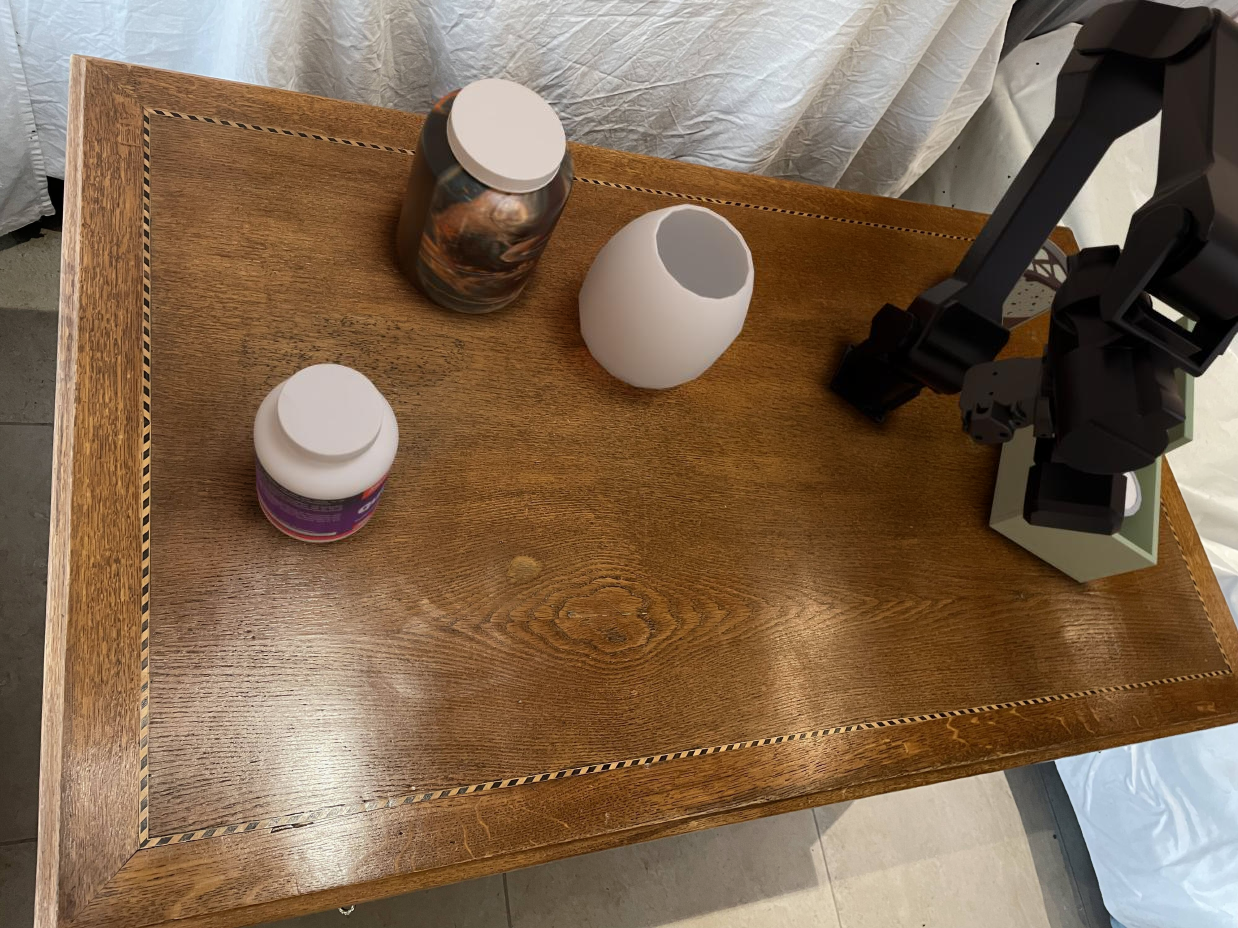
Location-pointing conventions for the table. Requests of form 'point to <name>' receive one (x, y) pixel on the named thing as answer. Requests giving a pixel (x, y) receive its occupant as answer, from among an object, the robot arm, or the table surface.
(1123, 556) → the chest
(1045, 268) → the food container
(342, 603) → the table surface
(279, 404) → the pill bottle
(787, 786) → the table surface
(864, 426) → the table surface
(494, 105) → the jar
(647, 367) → the cup
